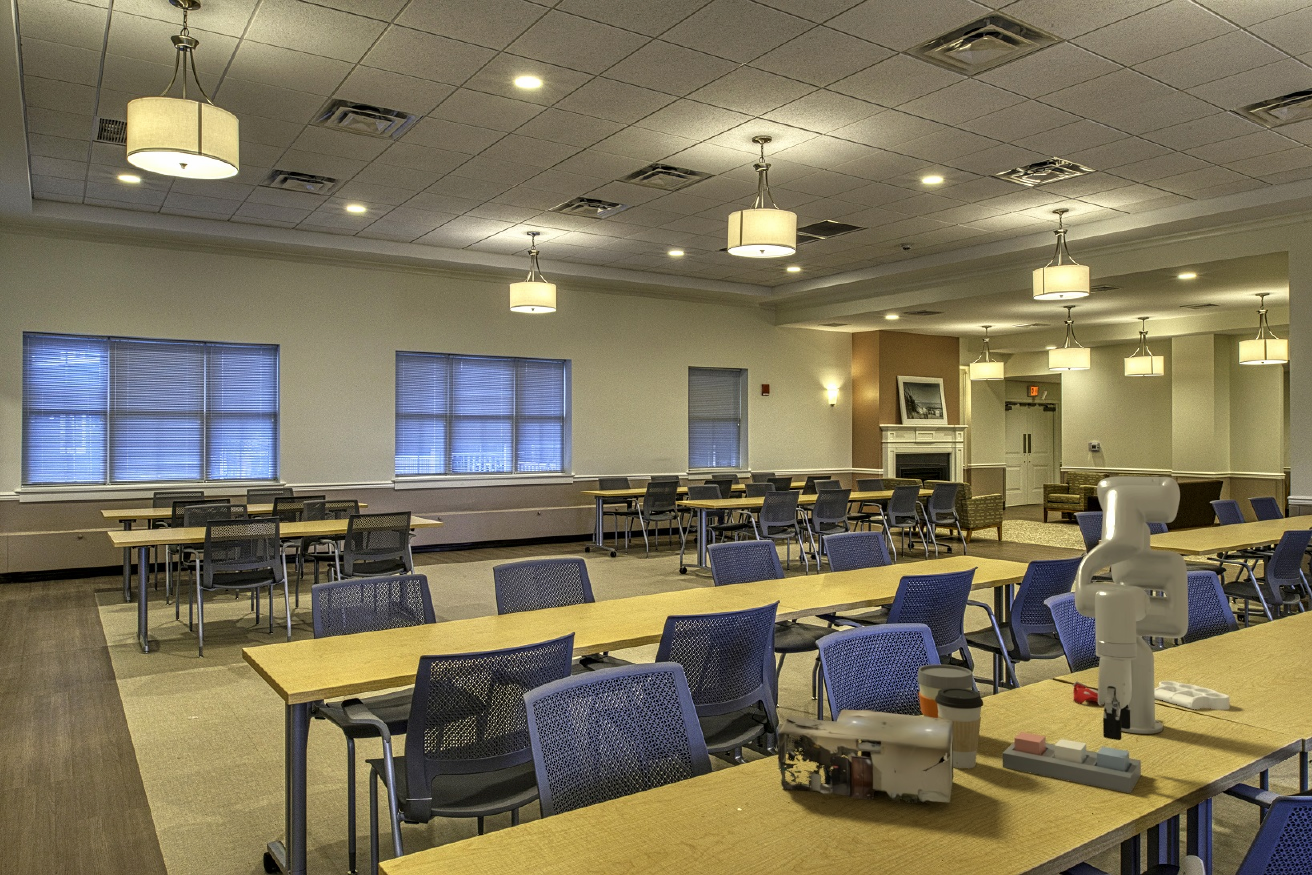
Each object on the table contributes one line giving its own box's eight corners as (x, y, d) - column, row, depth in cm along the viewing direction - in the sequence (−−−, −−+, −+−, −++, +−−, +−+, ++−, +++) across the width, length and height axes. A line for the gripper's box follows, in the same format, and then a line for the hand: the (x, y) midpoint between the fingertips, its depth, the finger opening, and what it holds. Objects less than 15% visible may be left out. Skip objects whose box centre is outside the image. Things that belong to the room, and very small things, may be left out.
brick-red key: (1021, 750, 192) (1021, 731, 192) (1045, 754, 189) (1045, 736, 189) (1014, 756, 188) (1014, 737, 188) (1039, 761, 185) (1039, 742, 185)
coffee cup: (986, 759, 191) (985, 689, 191) (982, 774, 182) (981, 701, 182) (938, 752, 195) (937, 685, 195) (932, 767, 186) (931, 696, 186)
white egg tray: (1139, 697, 238) (1176, 690, 244) (1203, 715, 221) (1241, 708, 227) (1139, 684, 238) (1176, 678, 244) (1203, 701, 221) (1241, 695, 227)
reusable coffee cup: (951, 723, 215) (950, 662, 215) (985, 739, 203) (984, 674, 203) (907, 729, 211) (906, 666, 211) (939, 746, 199) (938, 679, 200)
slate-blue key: (1102, 765, 182) (1102, 746, 182) (1129, 770, 179) (1129, 751, 179) (1097, 772, 178) (1096, 753, 178) (1124, 778, 175) (1124, 758, 175)
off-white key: (1060, 757, 187) (1060, 738, 187) (1086, 762, 184) (1086, 743, 184) (1054, 764, 183) (1054, 745, 183) (1081, 769, 180) (1080, 750, 180)
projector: (794, 760, 190) (793, 699, 190) (953, 781, 178) (953, 715, 178) (775, 795, 173) (774, 727, 173) (950, 820, 161) (949, 748, 161)
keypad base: (1018, 751, 195) (1018, 737, 195) (1140, 774, 181) (1140, 760, 181) (1002, 767, 186) (1002, 752, 186) (1130, 793, 171) (1129, 777, 171)
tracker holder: (1119, 699, 232) (1099, 696, 226) (1114, 714, 232) (1093, 712, 227) (1078, 678, 242) (1057, 675, 237) (1073, 693, 242) (1052, 690, 237)
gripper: (1104, 641, 192) (1105, 720, 191) (1086, 653, 178) (1088, 739, 177) (1143, 645, 187) (1144, 726, 186) (1128, 658, 173) (1129, 746, 173)
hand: (1117, 733), depth 182 cm, fingers open, 9 cm apart
